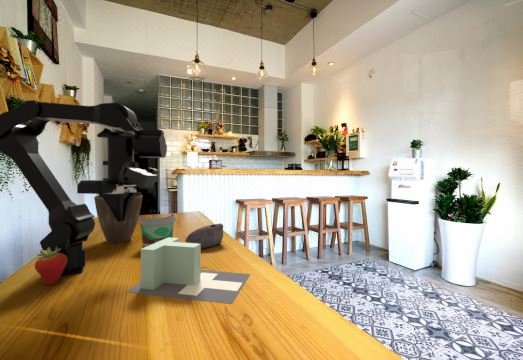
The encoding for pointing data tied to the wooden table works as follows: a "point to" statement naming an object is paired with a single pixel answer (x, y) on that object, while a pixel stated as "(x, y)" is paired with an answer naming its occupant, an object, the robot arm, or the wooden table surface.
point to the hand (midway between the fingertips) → (120, 221)
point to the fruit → (50, 265)
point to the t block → (170, 263)
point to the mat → (201, 287)
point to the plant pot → (114, 228)
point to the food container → (156, 229)
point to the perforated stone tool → (207, 235)
